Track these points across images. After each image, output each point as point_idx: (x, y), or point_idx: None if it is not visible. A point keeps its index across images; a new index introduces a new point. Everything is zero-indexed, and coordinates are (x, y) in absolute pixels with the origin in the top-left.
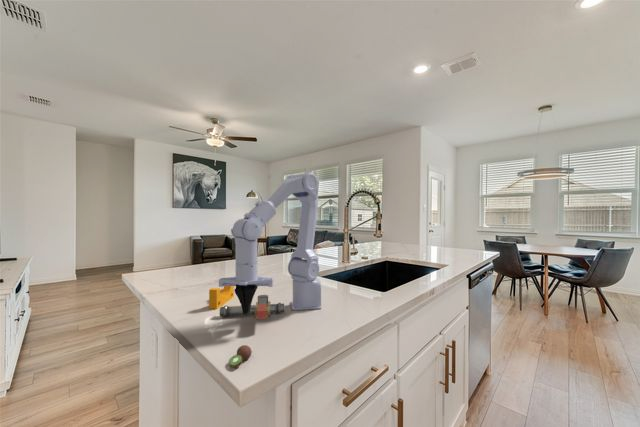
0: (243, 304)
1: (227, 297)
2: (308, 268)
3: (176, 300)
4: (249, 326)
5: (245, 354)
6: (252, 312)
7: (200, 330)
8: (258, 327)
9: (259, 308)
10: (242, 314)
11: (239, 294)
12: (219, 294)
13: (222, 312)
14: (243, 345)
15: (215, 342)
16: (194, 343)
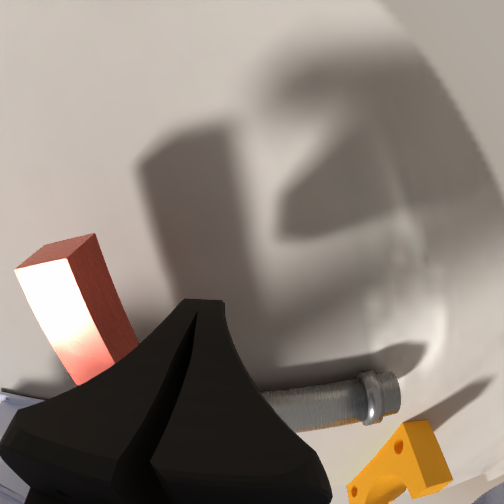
0: (201, 341)
1: (368, 479)
2: None
3: (499, 431)
4: (200, 275)
5: None
6: None
7: (456, 235)
8: (143, 261)
9: (78, 317)
10: (279, 390)
11: (232, 427)
12: (406, 476)
13: (383, 383)
14: None
15: (347, 78)
16: (447, 90)
